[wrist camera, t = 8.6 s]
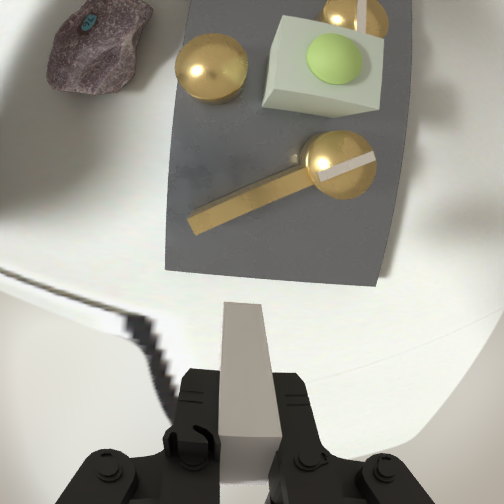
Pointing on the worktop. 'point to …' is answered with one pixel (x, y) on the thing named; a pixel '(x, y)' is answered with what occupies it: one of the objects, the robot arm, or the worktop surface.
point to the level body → (323, 69)
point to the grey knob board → (275, 153)
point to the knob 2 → (356, 16)
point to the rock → (97, 47)
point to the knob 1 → (300, 178)
